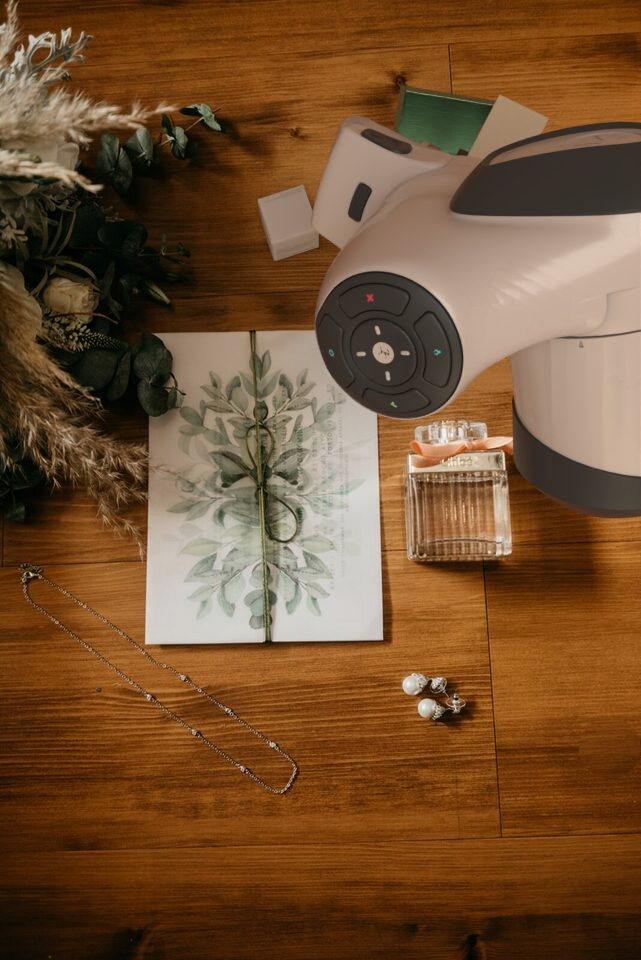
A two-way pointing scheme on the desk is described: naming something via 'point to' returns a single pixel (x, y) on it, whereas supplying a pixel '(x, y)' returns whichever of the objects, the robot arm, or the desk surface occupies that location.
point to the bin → (440, 118)
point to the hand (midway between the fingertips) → (485, 183)
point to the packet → (506, 127)
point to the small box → (288, 222)
